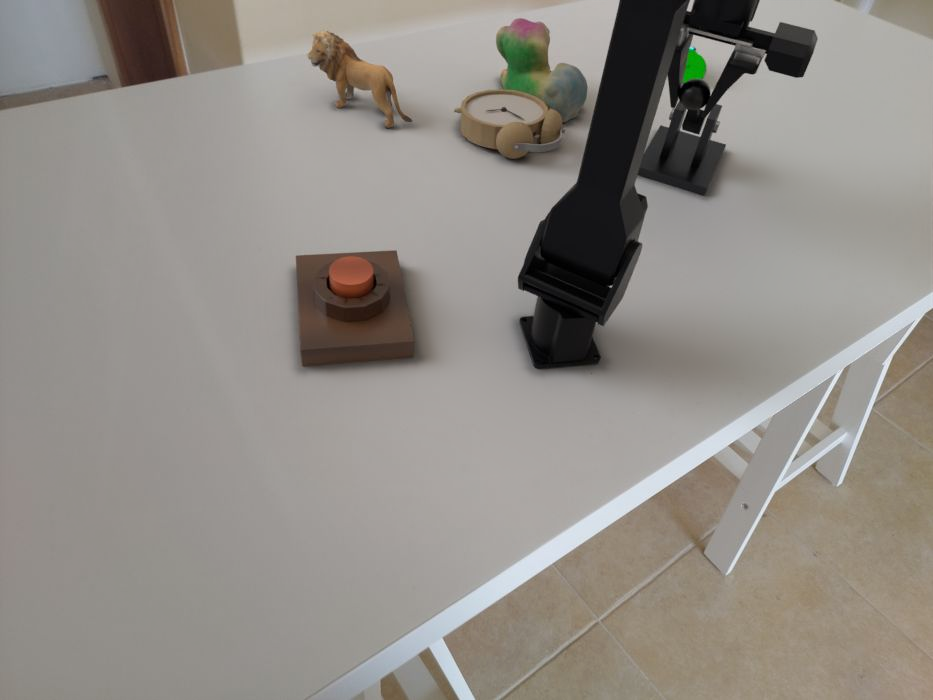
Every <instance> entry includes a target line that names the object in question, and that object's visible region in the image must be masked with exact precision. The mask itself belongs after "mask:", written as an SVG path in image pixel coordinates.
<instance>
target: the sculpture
mask: <svg viewBox="0 0 933 700" xmlns="http://www.w3.org/2000/svg"><path fill="white" fill-rule="evenodd" d="M550 33H551V31H550V29H549V28H548V26H547V25H546V24H545V23H544V22H542V21H531V20H528V19H526V18H522V17H519V18H515V19H513V21H512V22H511V23H510V25H503V26H501V27H500V28H499V29H498V30H497V33H496V36H495V45H496V50H497V51H498V53H499V55H500V56H501V57H502V59H504V60H505V63H506V64H507V66H506V67H507V68H503V69H502V70H501V72H500V76H499V77H500V78H499V81H500V84H501V86H502V88H503V89H504V90H515V91H520V92H524V93H528V94H530V95H533V96H535V97H537V98H539V99H540V100H542V101H543V102H544V103H545V104H546V106H547V107H548V111H549V109H553V110H556V111H557V112H558V113H559V114H560V115H561V118H562V124H563V123H567V122H568V121H569V120H572V119H575V118H576V117H578V114H579V113H580V111H581V109H582V107H583V106H584V105H585V103H586V100H587V97H588V82H587V79H586V77H585V75H584V74H583V72H582V71H581V70H580V69H579V68H578V67H577V66H575V65H572V64H569V63H566V62H560V63H558V64H556V66H555V68H554V69H553V70H551V66H550V63H549V47H550V42H551V37H550Z"/></svg>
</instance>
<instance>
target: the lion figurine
mask: <svg viewBox="0 0 933 700" xmlns="http://www.w3.org/2000/svg"><path fill="white" fill-rule="evenodd" d="M311 45H312V47H311V50H310V51H309V52H308V53H307V55H306V56H307V58H308V60H309V61H310V62H311V67H314V68H316V67H318V68H319V70H320V71H322V72H323V73H325V74H326V76H327V79H328V80H331V81H333V82H335V86H336V87H335V88H336V91H337V94H338V97H339V100H336V101H335V103H334V106H335V107H336V108H340V109H341V108H344V107H346V106H347V103H348V102H347V100H351V99H353V98H354V94H355V93H354V91H355V88H356V89H357V90H361V91H364V92H366V91H371V95H372V97H373V100H374V101H375V103H376V105H377V107H378V108H379V109H380V111H381V112H382V113H383V114H384V115H385V117H386V119H384V121H383V126H384V127H385V128H388V129H389V128H391V127H393V126H394V124H395V118H394V113H393V110H392V108H393V103H394V106H395V109H396V112H397V113H398V115H399V117H401V119H402V120H403V121H404V122H405V123H412V122H413V119H412V118H411V117H410V116H408V115H407V114H404V113H403V111H402V109H401V106H400V103H399V100H398V94H397V89H396V87H395V83H394V77H393V74H392V73H391V71H390V70H389V69H388V68H387V67H386V66H385V65H382V64H381V65H379V64H374V63H371V62H367V61H365V60H363V59H361V58H359V56H358V55H357V54H356V52H355V50H354V49H353V47H352V46H351V45H350V44H349V43H348V42H346V41H345V40H344V38H342V37H340V36H339V35H336V34H335V33H334V32H330V31H329V30H328V31H327V30H320V31H318V32H315V33H312V43H311ZM392 100H393V102H392Z"/></svg>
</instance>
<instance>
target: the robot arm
mask: <svg viewBox="0 0 933 700" xmlns="http://www.w3.org/2000/svg"><path fill="white" fill-rule="evenodd" d="M690 2H691V0H619V1H618V7H617V10H616V16H615V19H614V22H613V23H614V24H613V28H612V31H611V36H610V40H609V45H608V48H607V53H606V58H605V61H604V66H603V70H602V73H601V78H600V83H599V85H598V86H599V87H598V91H597V95H596V100H595V103H594V104H595V105H594V108H593V113H592V116H591V121H590V124H589V129H588V133H587V138H586V141H585V146H584V151H583V155H582V159H581V164H580V167H579V171H578V175H577V176H578V177H577V180H576V182H575V184H574V185H572V187H570V188H569V189H568V190H567V191H566V192H565V194H564V195H563V196H562V197H561V198H560V199H559V200H558V201H557V202H556V203H555V204H554V205H553V206H552V207H551V208H550V210H549V211H548V213H547V215H546V216H545V218H544V219H542V220H541V221H539V224H538V226H537V228H536V231H535V232H534V234H533V235H534V236H533V238H532V240H531V242H530V245H529V247H528V250H527V252H526V255H525V258H524V260H523V261H524V262H523V265H522V267H521V269H520V271H519V273H518V275H517V288H518V290H519V291H522V292H524V291H525V292H527V293H528V294H529V293H530V294H532V295H534V296H536V302H535V307H534V311H533V315H526V316H521V317H519V320H518V324H519V327H520V330H521V333H522V336H523V339H524V342H525V345H526V348H527V351H528V354H529V357H530V360H531V363H532V365H533V367H534V368H536V369H549V368H551V369H552V368H563V367H573V366H584V365H585V366H586V365H596V364H597V365H598V364H599V363H601V360H602V356H601V353H600V351H599V348H598V346H597V344H596V342H595V340H594V337H593V335H594V331H595V329H596V325H599V326H601V327H605V326H606V324H607V322H608V321H609V319H610V317H611V316H612V315H613V314H614V312H615V310H616V309H617V308H618V306H619V305H620V304H621V302H622V300H623V299H624V296H625V294H626V291H627V289H628V286H629V283H630V281H631V279H632V276H633V273H634V270H635V269H636V266H637V264H638V261H639V258H640V256H641V252H642V249H643V243H642V242H640V241H639V239H640V235H641V233H642V228H643V224H644V221H645V216H646V213H647V210H648V208H649V205H648V198H647V196H646V195H643V194H641V193H638V191H637V188H636V180H637V177H638V175H637V174H638V171H639V168H640V164H641V161H642V158H643V154H644V153H645V151H646V149H647V144H648V141H649V138H650V134H651V131H652V128H653V125H654V124H653V123H654V120H655V118H656V114H657V111H658V107H659V104H660V101H661V98H662V95H663V91H664V89H665V84H666V81H667V82H668V93H669V102H670V108H672V109H673V108H674V109H675V107H676V106H677V104H678V102H679V91H680V89H681V87H682V85H683V84H684V83H683V78H684V73H685V68H686V63H687V58H688V53H689V49H690V47H691V45H692V42H693V39H694V36H697V37H700V38H703V39H708V40H712V41H716V42H719V43H722V44H727V45H730V46H733V47H734V49H733V51H732V52H731V55H730V56H729V58H728V60H727V62H726V64H725V66H724V67H723V70H722V72H721V74H720V76H719V77H718V80H717V82H716V83H715V85H714V87H713V90H712V91H711V93H710V98H709V100H708V102H707V104H706V105H705V106H704V109H703V110H704V112H703V115H702V117H706V118H708V116H709V114H710V112H711V110H712V109H713V107H714V106H715V105H716V104H718V103H719V101H720V100H721V99H722V97H723V96H724V95H725V94H726V92H727V91H728V90H729V89H730V88H731V87H732V86H733V85H734V84H735V83H736V82H737V81H738V80H739V79H741V78H742V77H743V76H744V74H748V75H755V74H757V72H758V70H759V68H760V66H761V63H762V60H763V59H764V60H763V61H764V62H765V63H764V64H765V65H766V67H767V69H768V71H769V72H773V73H777V74H781V75H785V76H789V77H793V78H794V79H797V78H798V79H800V78H804V76H805V74H806V71H807V69H808V67H809V64H810V62H811V59H812V57H813V55H814V52H815V50H816V49H815V48H816V45H817V43H818V35H817V33H816V30H815V29H810V28H807V27H803V26H800V25H799V26H798V25H794V24H791V23H786V22H782V21H779V23H778V25H777V27H776V31H775V32H771V31H768V30H763V29H759V28H757V27H753V26H752V27H751V26H750V23H751V22H753V21H754V18H755V15H756V12H757V9H758V7H759V5H760V2H761V0H693V3H692V7H691V9H690V11H689V10H688V8H689V4H690Z"/></svg>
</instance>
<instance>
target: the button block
mask: <svg viewBox="0 0 933 700" xmlns="http://www.w3.org/2000/svg"><path fill="white" fill-rule="evenodd" d="M349 256H353V257H360V258H363V259H365V260H367V261H368V262H369V263H370V264H371V265H372V267H373V280H374V285H373V289H372V291H371V292H370V293H369V294H367V295H365V296H363V297H361V298H350V299H346V298H343V297H340V296H337V295H336V294H334V293H333V292H332V290H331V288H330V280H329V268H330V266H331V264H332V263H333V262H334V261H336V260H338V259H340V258H343V257H349ZM295 273H296V291H297V292H296V293H297V309H298V310H297V313H298V330H299V331H298V332H299V333H298V334H299V350H300V351H299V352H300V359H301V366H302V367H312V366H313V367H314V366H324V365H336V364H350V363H362V362H363V363H364V362H374V361H388V360H400V359H412V358H414V357H415V336H414V330H413V327H412V326H413V325H412V322H411V316H410V312H409V306H408V301H407V296H406V291H405V287H404V286H405V285H404V281H403V276H402V271H401V266H400V261H399V255H398V251H397V250H395V249H394V250H379V251H378V250H377V251H376V250H375V251H373V250H372V251H356V252H338V253H336V252H335V253H318V254H298V255H297V254H296V255H295Z"/></svg>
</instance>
